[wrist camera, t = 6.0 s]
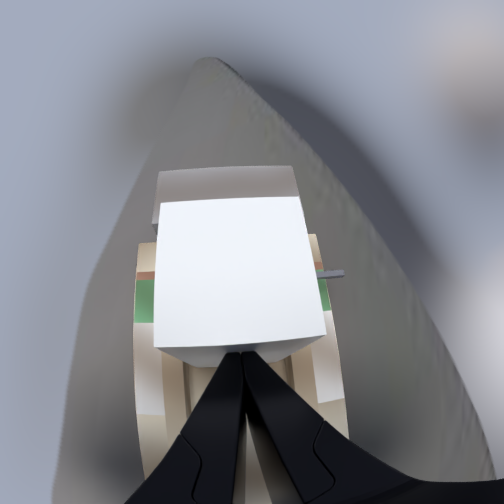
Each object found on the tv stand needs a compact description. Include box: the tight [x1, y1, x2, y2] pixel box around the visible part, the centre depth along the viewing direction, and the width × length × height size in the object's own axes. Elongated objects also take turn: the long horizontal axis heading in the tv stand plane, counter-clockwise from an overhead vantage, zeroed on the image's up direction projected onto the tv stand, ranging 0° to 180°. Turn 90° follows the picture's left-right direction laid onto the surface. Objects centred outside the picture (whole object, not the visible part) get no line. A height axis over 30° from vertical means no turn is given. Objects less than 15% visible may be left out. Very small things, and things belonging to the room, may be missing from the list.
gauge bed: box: [133, 166, 349, 504], centre depth 11 cm, size 17×11×6 cm, turn 5°
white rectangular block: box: [154, 197, 345, 368], centre depth 11 cm, size 4×8×8 cm, turn 95°
